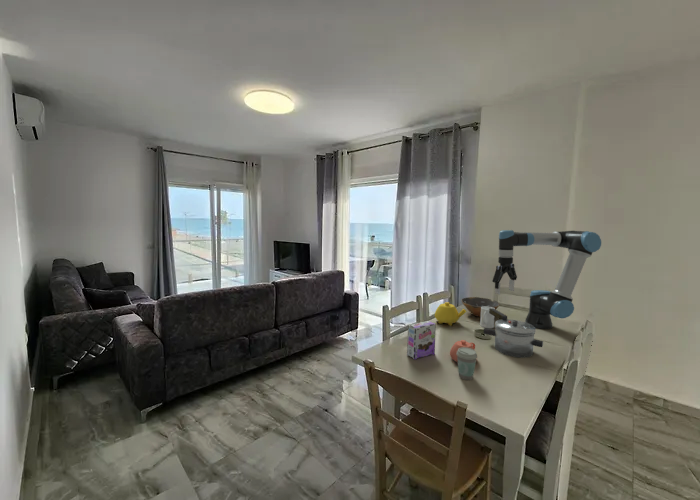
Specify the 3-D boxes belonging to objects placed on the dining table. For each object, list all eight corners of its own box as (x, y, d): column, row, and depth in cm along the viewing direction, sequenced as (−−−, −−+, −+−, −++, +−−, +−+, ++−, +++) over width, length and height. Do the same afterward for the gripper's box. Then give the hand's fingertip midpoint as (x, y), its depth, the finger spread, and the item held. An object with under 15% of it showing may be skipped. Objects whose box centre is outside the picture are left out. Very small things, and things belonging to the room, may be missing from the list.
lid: (544, 333, 151) (544, 327, 151) (508, 334, 150) (508, 327, 150) (506, 313, 184) (506, 307, 183) (476, 313, 182) (476, 308, 182)
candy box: (414, 360, 149) (415, 328, 148) (406, 355, 155) (407, 324, 153) (435, 354, 156) (436, 323, 154) (427, 349, 161) (428, 320, 159)
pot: (544, 351, 160) (546, 329, 159) (538, 363, 146) (540, 340, 145) (488, 337, 178) (489, 317, 177) (478, 347, 164) (479, 326, 163)
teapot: (467, 322, 203) (468, 302, 201) (463, 329, 190) (464, 308, 188) (438, 317, 213) (438, 298, 212) (431, 323, 200) (432, 303, 199)
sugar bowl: (444, 357, 153) (445, 337, 151) (466, 352, 158) (467, 333, 157) (461, 368, 141) (462, 347, 140) (484, 363, 146) (485, 343, 145)
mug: (488, 330, 188) (489, 312, 187) (475, 327, 194) (476, 308, 193) (496, 326, 196) (497, 308, 195) (483, 322, 202) (484, 305, 201)
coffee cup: (452, 372, 138) (453, 347, 137) (470, 371, 139) (471, 346, 137) (460, 382, 129) (461, 355, 128) (479, 381, 130) (481, 355, 129)
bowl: (454, 314, 219) (455, 301, 218) (470, 307, 236) (471, 295, 235) (489, 323, 201) (490, 309, 200) (504, 315, 218) (505, 301, 216)
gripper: (512, 254, 186) (511, 287, 188) (486, 257, 173) (485, 294, 176) (524, 255, 179) (523, 290, 182) (498, 259, 167) (497, 296, 169)
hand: (504, 292), depth 179 cm, fingers open, 13 cm apart
